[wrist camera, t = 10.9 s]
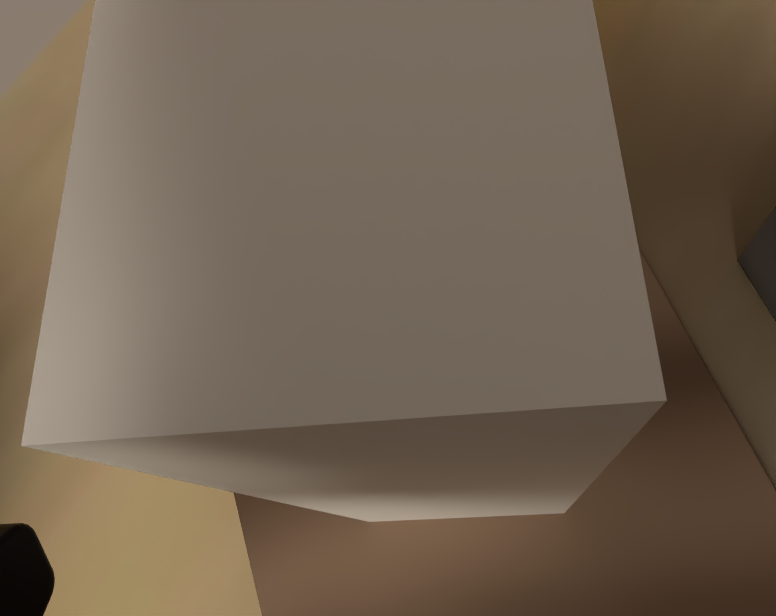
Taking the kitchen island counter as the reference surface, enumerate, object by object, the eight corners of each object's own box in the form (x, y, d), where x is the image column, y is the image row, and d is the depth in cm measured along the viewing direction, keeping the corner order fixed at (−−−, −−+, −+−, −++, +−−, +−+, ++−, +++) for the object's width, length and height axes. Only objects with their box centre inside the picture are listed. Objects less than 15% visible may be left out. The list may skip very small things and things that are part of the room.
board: (832, 627, 16) (855, 632, 14) (324, 805, 16) (310, 823, 15) (564, 142, 21) (566, 119, 20) (200, 288, 22) (183, 275, 21)
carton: (564, 513, 16) (667, 399, 5) (368, 521, 17) (21, 446, 5) (540, 316, 18) (567, -130, 6) (365, 332, 19) (100, -36, 7)
